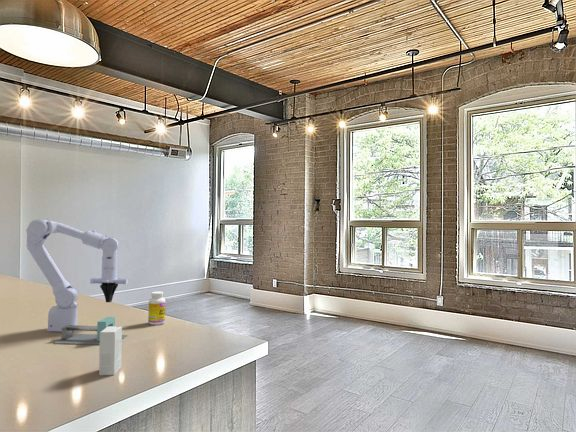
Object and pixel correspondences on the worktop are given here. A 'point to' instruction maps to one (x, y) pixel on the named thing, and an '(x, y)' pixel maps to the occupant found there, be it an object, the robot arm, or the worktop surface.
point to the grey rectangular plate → (82, 339)
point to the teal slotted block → (104, 325)
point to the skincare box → (110, 350)
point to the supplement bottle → (156, 309)
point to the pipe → (68, 330)
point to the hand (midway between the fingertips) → (108, 301)
